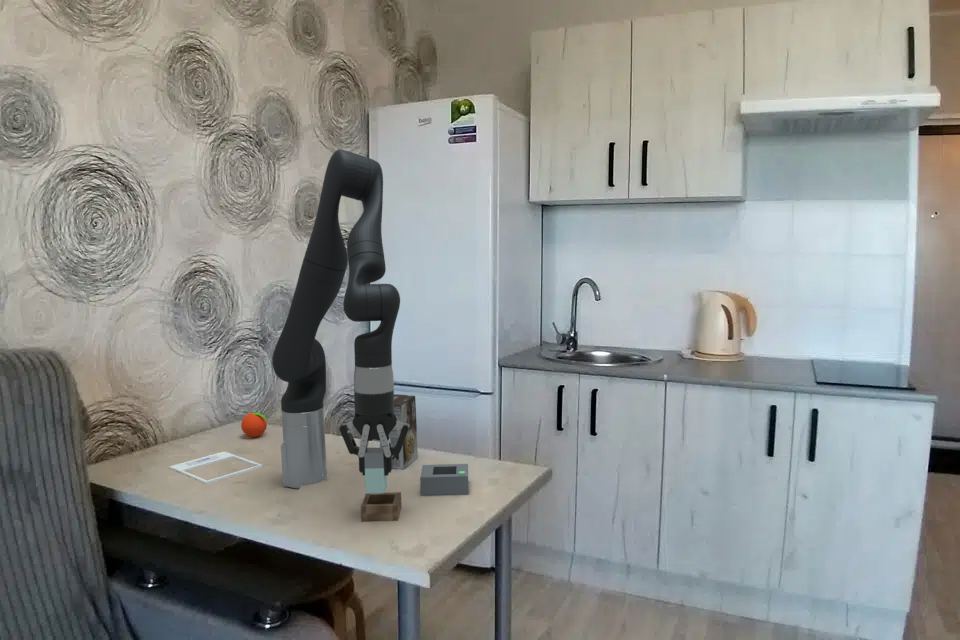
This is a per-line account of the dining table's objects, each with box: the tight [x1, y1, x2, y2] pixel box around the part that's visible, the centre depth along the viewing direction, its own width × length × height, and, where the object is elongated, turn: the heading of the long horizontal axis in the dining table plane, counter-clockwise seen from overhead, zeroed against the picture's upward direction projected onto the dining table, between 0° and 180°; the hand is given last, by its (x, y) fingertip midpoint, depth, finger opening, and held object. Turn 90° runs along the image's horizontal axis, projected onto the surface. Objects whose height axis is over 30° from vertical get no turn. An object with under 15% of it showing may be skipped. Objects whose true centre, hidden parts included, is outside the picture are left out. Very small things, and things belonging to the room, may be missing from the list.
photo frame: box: [168, 451, 264, 484], centre depth 170 cm, size 15×1×18 cm
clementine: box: [240, 411, 268, 438], centre depth 195 cm, size 8×7×7 cm
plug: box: [364, 446, 388, 495], centre depth 135 cm, size 4×4×8 cm
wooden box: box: [360, 491, 403, 523], centre depth 137 cm, size 7×7×4 cm
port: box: [419, 463, 469, 497], centre depth 150 cm, size 10×8×5 cm
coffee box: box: [379, 393, 419, 470], centre depth 170 cm, size 9×6×16 cm
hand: (376, 473), depth 135 cm, fingers closed on plug, 3 cm apart
